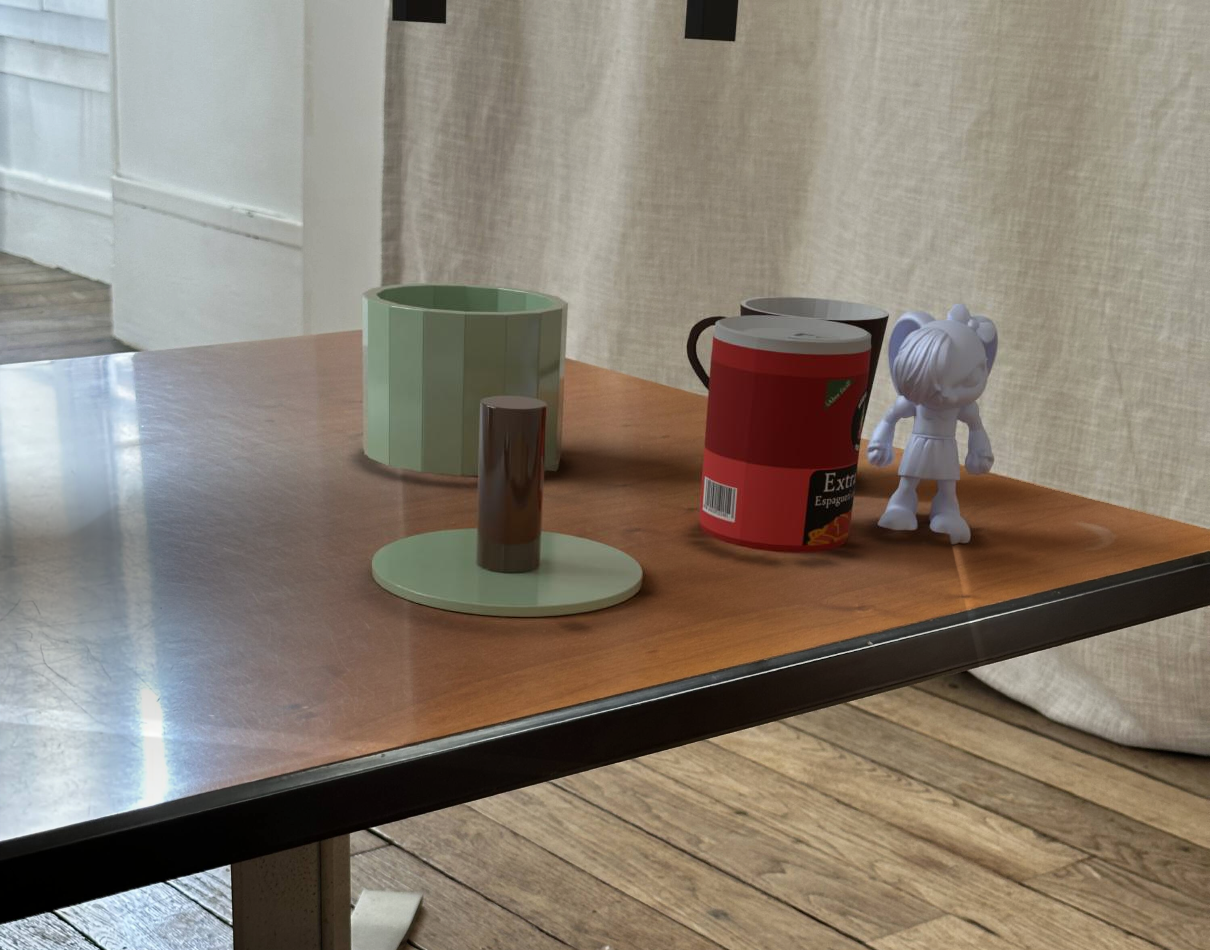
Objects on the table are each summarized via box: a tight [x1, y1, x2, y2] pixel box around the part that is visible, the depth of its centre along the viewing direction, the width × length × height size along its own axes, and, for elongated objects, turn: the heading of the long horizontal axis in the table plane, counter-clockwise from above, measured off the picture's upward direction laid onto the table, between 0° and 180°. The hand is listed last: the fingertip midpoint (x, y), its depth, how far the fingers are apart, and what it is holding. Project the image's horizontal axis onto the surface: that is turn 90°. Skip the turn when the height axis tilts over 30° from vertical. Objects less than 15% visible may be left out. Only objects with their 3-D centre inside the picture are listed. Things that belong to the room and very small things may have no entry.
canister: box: [362, 282, 569, 477], centre depth 101 cm, size 12×12×10 cm
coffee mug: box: [686, 296, 890, 435], centre depth 102 cm, size 12×9×10 cm
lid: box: [371, 396, 644, 618], centre depth 78 cm, size 13×13×9 cm
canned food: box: [698, 315, 871, 553], centre depth 88 cm, size 8×8×11 cm
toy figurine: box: [865, 303, 999, 545], centre depth 91 cm, size 7×6×12 cm
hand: (558, 32), depth 68 cm, fingers open, 13 cm apart
